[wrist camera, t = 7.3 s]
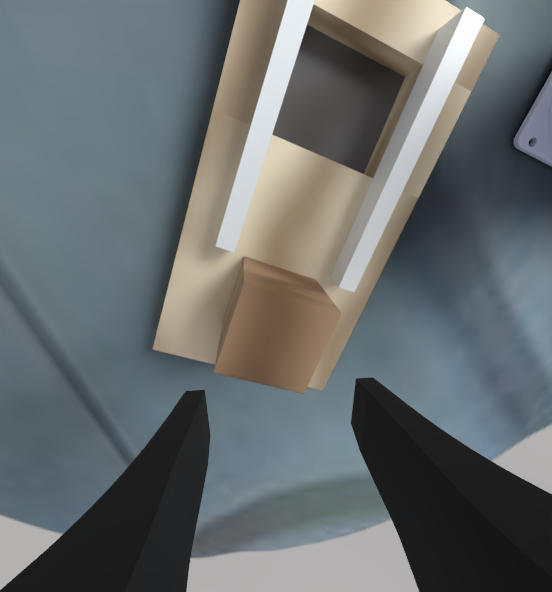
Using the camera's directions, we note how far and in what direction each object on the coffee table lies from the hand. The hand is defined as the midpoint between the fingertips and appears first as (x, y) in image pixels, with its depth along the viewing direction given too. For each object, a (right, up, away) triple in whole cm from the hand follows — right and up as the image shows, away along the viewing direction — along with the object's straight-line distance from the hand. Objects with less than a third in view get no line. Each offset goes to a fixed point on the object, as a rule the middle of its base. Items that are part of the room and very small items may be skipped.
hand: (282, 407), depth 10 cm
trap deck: (+1, +9, +8) cm, 12 cm away
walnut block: (-1, +4, +8) cm, 8 cm away
